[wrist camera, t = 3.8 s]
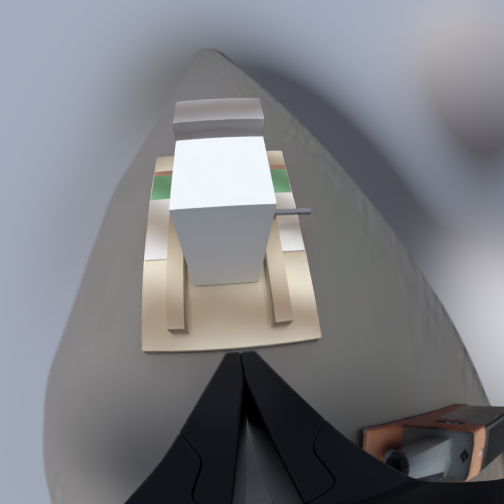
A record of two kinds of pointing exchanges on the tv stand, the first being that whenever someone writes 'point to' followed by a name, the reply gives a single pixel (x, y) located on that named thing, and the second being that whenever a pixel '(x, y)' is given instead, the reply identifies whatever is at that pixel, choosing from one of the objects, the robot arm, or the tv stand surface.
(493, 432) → the electronic device
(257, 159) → the white rectangular block
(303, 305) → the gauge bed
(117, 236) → the tv stand surface
